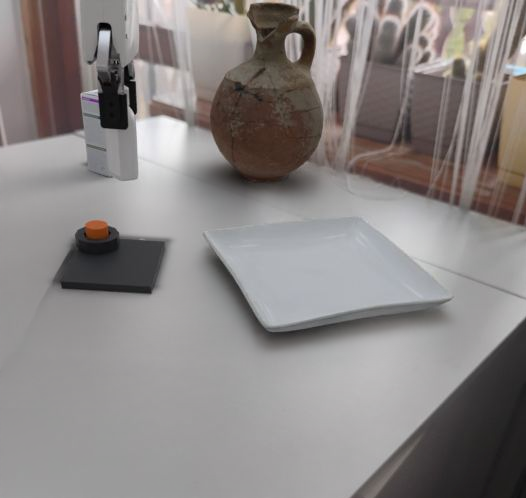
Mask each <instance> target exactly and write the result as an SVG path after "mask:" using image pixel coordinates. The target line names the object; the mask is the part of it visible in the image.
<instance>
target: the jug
mask: <svg viewBox="0 0 526 498" xmlns="http://www.w3.org/2000/svg"><path fill="white" fill-rule="evenodd" d="M300 10H301V9H300V7H299V6H297V5H294V4H290V3H285V2H271V1H262V2H261V1H260V2H253V3H250V4H249V9H248V11H247V12H246V17H247V18H248V20H249V22H250V24H251V26H252V27H253V29H254V30H255V34H256V41H255V49H254V53H253V55H252V56H251V57H250V58H249V59H247V60H245V61H243V62H241V63H239V64H238V65H237V66H235V67H233V68H232V69H230V70H228V71H227V72H226V73H225V74H224V77H223V79H222V81H221V82H220V84H219V85H218V87H217V89H216V91H215V94H214V97H213V99H212V103H211V107H210V111H209V125H210V131H211V134H212V138H213V141H214V143H215V145H216V147H217V149H218V151H219V152H220V154H221V155H222V157H223V158H224V159H225V160H226V161H227V162H228V163H229V164H230V165H231V166H232V167H234V168H235V169H237V170H239V172H240V174H241V176H243V177H244V178H246V180H249V181H253V182H257V183H276V182H279V181H282V180H285V178H286V177H287V175H288V174H291V173H292V172H294V171H295V170H297V169H299V168H300V167H301V166H303V165H304V164H305V163H307V161H308V160H309V159H310V158H311V156H312V155H313V154H314V152H315V151H316V150H317V148H318V146H319V144H320V141H321V139H322V135H323V129H324V118H325V116H324V107H323V104H322V101H321V97H320V94H319V92H318V89H317V87H316V85H315V82H314V79H313V77H312V73H311V69H312V66H313V61H314V58H315V56H316V55H315V54H316V47H317V35H316V32H315V29H314V27H313V25H312V24H311V23H310V22H308V21H307V20H299V19H300ZM290 34H298V35H300V36H301V37H302V40H303V43H302V44H303V47H302V49H301V54H300V56H299V58H298V59H297V60H296V61H291V60H290V59H289V57H288V55H287V50H286V39H287V36H289V35H290Z"/></svg>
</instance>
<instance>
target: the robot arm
mask: <svg viewBox="0 0 526 498" xmlns="http://www.w3.org/2000/svg"><path fill="white" fill-rule="evenodd" d="M79 10H80V29H81V30H80V33H81V48H82V49H81V51H82V60H83V61H84V63H85V64H86V65H89V66H91V65H93V64H94V63H95V62H96V64H95V65H96V67H95V68H96V72H97V76H96V77H97V89H98V100H99V113H100V125H101V127H102V128H105V129H120V130H126V129H127V128H128V107H127V94H125V93H124V85H125V86H127V87H128V88H129V107H130V108H131V109H132V111H133V113H134V115H135V116H136V115H137V114H138V100H137V99H138V98H137V97H138V96H137V81H136V80H135V79H136V70H135V69H136V68H135V62H134V59H135V58H136V56H137V55H138V53H139V50H140V20H139V19H140V17H139V16H140V14H139V0H79ZM116 75H117V76H116Z"/></svg>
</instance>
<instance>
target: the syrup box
mask: <svg viewBox="0 0 526 498" xmlns="http://www.w3.org/2000/svg"><path fill="white" fill-rule="evenodd" d="M79 97H80V105H81V112H82V123H83V124H82V125H83V132H84V133H83V135H84V143H85V149H86V160H87V169H88V171H89V172H92V173H95V174H98V175H101V176H104V177H107V178H111V177H112V176H111V175H110V173H109V170H108V158H107V144H106V130H105V128H102V127H101V125H100V113H99V100H98V88H97V89H92V90H89V91H85V92H81V93H80V95H79ZM112 178H113V177H112Z"/></svg>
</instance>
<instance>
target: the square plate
mask: <svg viewBox="0 0 526 498" xmlns="http://www.w3.org/2000/svg"><path fill="white" fill-rule="evenodd" d="M202 236H203V238H204V240H205V241H206V242H207V244H208V245H209V246H210V248H211V249H212V250H213V252H214V253H215V255H216V256H217V257H218V259H219V260H220V261H221V262H222V264H223V266H224V267H225V269H226V270H227V271H228V272H229V274H230V275H231V277H232V278H233V279H234V281H235V283H236V285H237V286H238V287H239V290H240V291H241V293H242V295H243V297H244V298H245V300H246V302H247V303H248V305H249V307H250V309H251V311H252V312H253V314H254V315H255V317H256V320H258V323H260V325H261V326H262V327H263V328H264V329H265V330H266V331H268V332H271V333H285V332H292V331H299V330H305V329H310V328H315V327H321V326H327V325H332V324H338V323H343V322H348V321H354V320H360V319H366V318H374V317H380V316H387V315H395V314H403V313H409V312H417V311H422V310H428V309H432V308H435V307H439V306H441V305H444V304H445V303H448V302H450V301H453V299H454V298H455V295H454V294H453V293H452V292H451V291H450V290H449V289H447V287H445V286H444V285H443V284H442V283H440V282H439V280H437V279H436V278H435V277H434V276H432V274H431V273H430V272H428V271H427V270H426V269H425V268H424V267H422V266H421V265H420V264H419V263H418V262H416V261H415V260H414V258H412V257H410V255H409V254H407V253H406V252H405V251H404V250H402V249H401V247H399V246H398V245H397V244H396V243H394V242H393V241H392V240H391V239H389V238H388V237H387V236H385V234H383V233H382V232H381V231H380V230H379V229H377V228H376V227H374V226H373V225H372V224H371V223H370V222H368V221H367V220H366V219H365V218H363V217H361V216H358V215H357V216H356V215H353V216H339V217H338V216H337V217H322V218H309V219H307V218H306V219H295V220H286V221H285V220H284V221H275V222H267V223H258V224H256V223H255V224H249V225H241V226H234V227H233V226H232V227H226V228H217V229H216V228H215V229H209V230H204V231H202Z"/></svg>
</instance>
